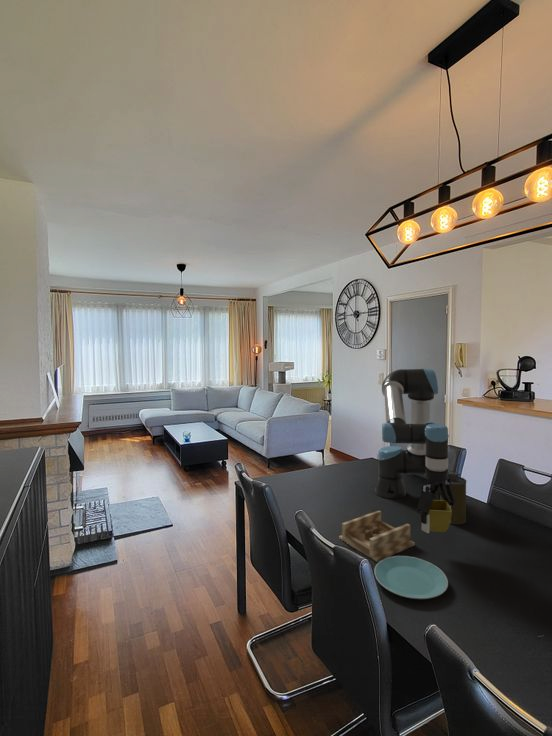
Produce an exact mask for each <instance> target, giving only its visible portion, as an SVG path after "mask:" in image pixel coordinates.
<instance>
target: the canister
mask: <svg viewBox="0 0 552 736" xmlns="http://www.w3.org/2000/svg"><path fill="white" fill-rule="evenodd" d="M460 475H461V474H460V473H457V472H453V471H450V472H448V478H450V479H451V486H452V489H453V493H454V497H455V502H453V503H454V506H452V505H451V510H452V515H451V523H450V524H451V525H463V524H465V523H467V480H466V479H465V477H464V478H463V477H461V476H460ZM438 500H443V498H442V497H441V495H440V493H439V494H438Z"/></svg>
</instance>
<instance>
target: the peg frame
mask: <svg viewBox="0 0 552 736" xmlns="http://www.w3.org/2000/svg"><path fill="white" fill-rule="evenodd" d="M338 539H339V540H340V539H341V540H340V541H342V542H343V541H344V543H345V542H346V543H345V544H347V545H348V544H349V545H348V546H349V547H352V548H353V549H355V550H357V551H358V552H360V553H361V554H364V556H366V557H368V558H369V559H371V560H373V561H374V562H376V563H377V562H378V563H379V562H380V561H381V560H383V559H386V558H388V557H393V556H395V554H398V553H401V552H403V551H405V550H408V549H409V548H411V547H414V546H415V545H416V543H415V542H414V541H412V540H411V524H409V523H405V524H403V525H400V526H397V527H394V526H392V525H390V524H388V523H386V522H384V521H382V511H381V510H376V511H373V512H370V513H367V514H364V515H361V516H359V517H357V518H353V519H350V520H347V521H345V522H342V523H341V535H339V536H338Z"/></svg>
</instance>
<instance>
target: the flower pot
mask: <svg viewBox="0 0 552 736" xmlns="http://www.w3.org/2000/svg"><path fill="white" fill-rule="evenodd" d="M428 514H429V515H430V532H435V533H436V532H438V533H445V532H446V531H448V529H449V528H450V522H451V515H452V510H451V508H450V506H449V504H448V502H447V501H445V500H439V499H434V500H433V502H432V505H431V507H430V510H429V512H428Z"/></svg>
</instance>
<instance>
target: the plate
mask: <svg viewBox="0 0 552 736" xmlns="http://www.w3.org/2000/svg"><path fill="white" fill-rule="evenodd" d="M373 570H374V572H373V573H374V577H375V579H376V581H377V582H378V584H380V586H382V587H383V588H384V589H386V590H387V591H389V592H390V593H392V594H393V595H394V594H395V595H397V596H399V597H403V598H407V599H411V600H413V599H414V600H427V599H428V600H429V599H433V598H437V597H439V596H441V595H443V594H444V593H445V592H446V591H447V589H448V587H449V581H448V577H447V575H446V574H445V572H444V571H443V570H442V569H440V568H439V567H438V566H436V565H435V564H433V563H431V562H430V561H427V560H424V559H422V558H418V557H415V556H409V555H392V556H390V557H387V558H385V559H383V560H381V561H378V563H376V565H375V566H374V569H373Z"/></svg>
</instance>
